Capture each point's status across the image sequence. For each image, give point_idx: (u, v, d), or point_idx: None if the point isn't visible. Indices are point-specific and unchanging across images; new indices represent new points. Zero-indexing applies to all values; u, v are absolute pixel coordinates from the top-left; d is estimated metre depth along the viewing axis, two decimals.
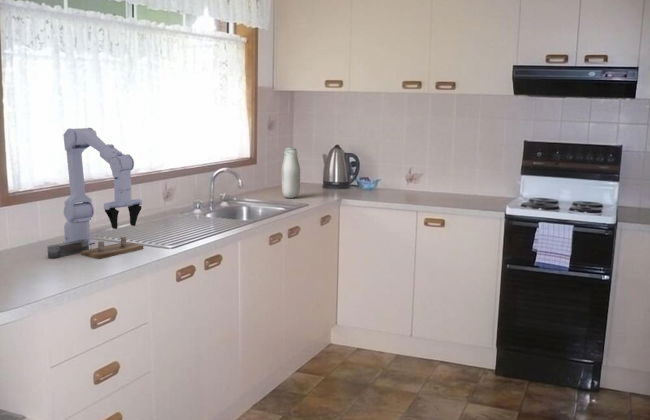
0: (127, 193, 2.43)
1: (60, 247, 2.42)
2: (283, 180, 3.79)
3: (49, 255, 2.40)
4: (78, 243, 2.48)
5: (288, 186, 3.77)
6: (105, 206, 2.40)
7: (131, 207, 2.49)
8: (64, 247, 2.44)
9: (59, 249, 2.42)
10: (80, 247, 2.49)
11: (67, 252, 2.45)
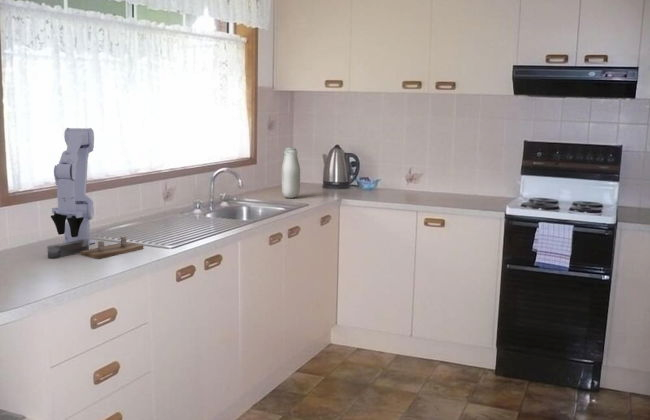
0: (59, 202, 2.42)
1: (60, 247, 2.42)
2: (283, 180, 3.79)
3: (49, 255, 2.40)
4: (78, 243, 2.48)
5: (288, 186, 3.77)
6: None
7: None
8: (64, 247, 2.44)
9: (59, 249, 2.42)
10: (80, 247, 2.49)
11: (67, 252, 2.45)
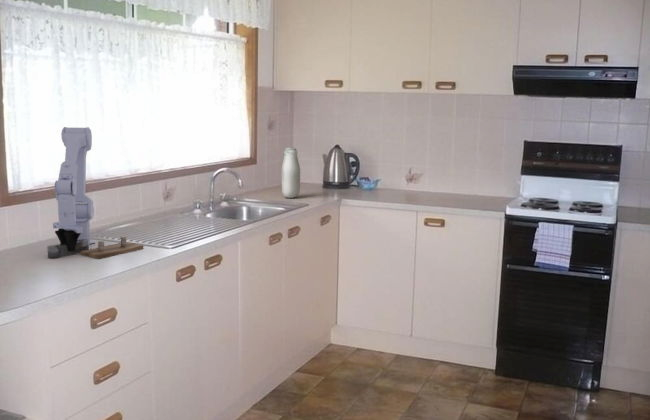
0: (59, 217, 2.43)
1: (60, 247, 2.42)
2: (283, 180, 3.79)
3: (49, 255, 2.40)
4: (78, 243, 2.48)
5: (288, 186, 3.77)
6: None
7: None
8: (64, 247, 2.44)
9: (59, 249, 2.42)
10: (80, 247, 2.49)
11: (67, 252, 2.45)
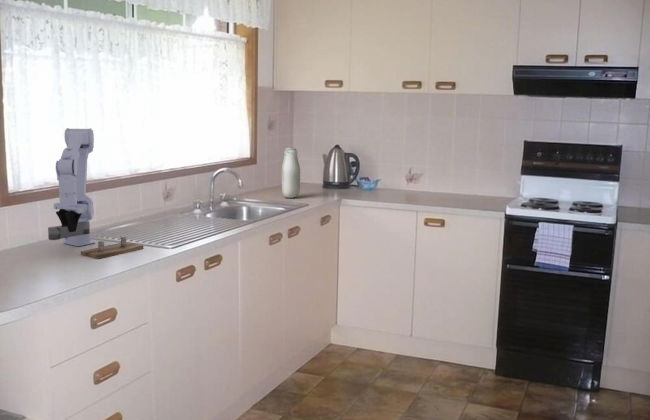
0: (60, 197, 2.42)
1: (61, 228, 2.41)
2: (283, 180, 3.79)
3: (50, 236, 2.39)
4: (79, 225, 2.47)
5: (288, 186, 3.77)
6: None
7: None
8: (64, 228, 2.43)
9: (60, 230, 2.41)
10: (81, 229, 2.48)
11: (68, 234, 2.44)
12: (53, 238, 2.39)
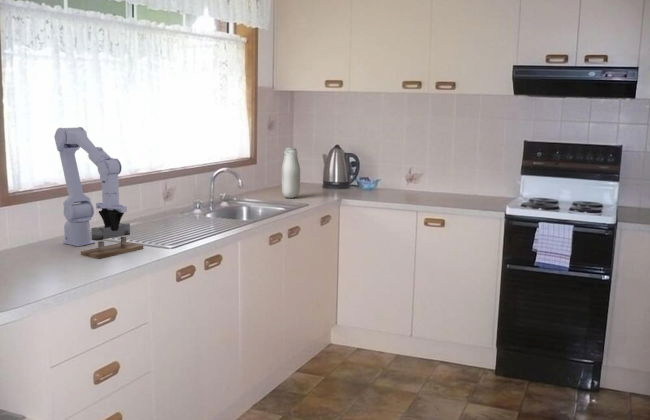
0: (104, 197, 2.46)
1: (104, 229, 2.46)
2: (283, 180, 3.79)
3: (93, 237, 2.44)
4: (120, 226, 2.52)
5: (288, 186, 3.77)
6: None
7: None
8: (107, 229, 2.47)
9: (103, 231, 2.45)
10: (122, 230, 2.53)
11: (110, 235, 2.49)
12: (96, 239, 2.44)
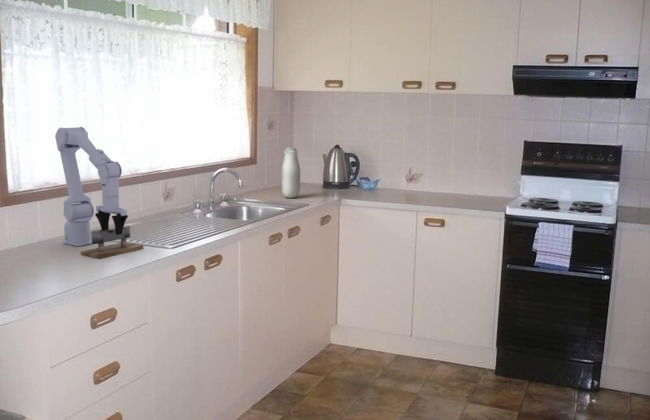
0: (104, 200, 2.46)
1: (104, 232, 2.46)
2: (283, 180, 3.79)
3: (93, 240, 2.44)
4: None
5: (288, 186, 3.77)
6: None
7: None
8: (107, 232, 2.47)
9: (103, 234, 2.46)
10: (122, 233, 2.53)
11: (110, 237, 2.49)
12: (97, 242, 2.44)
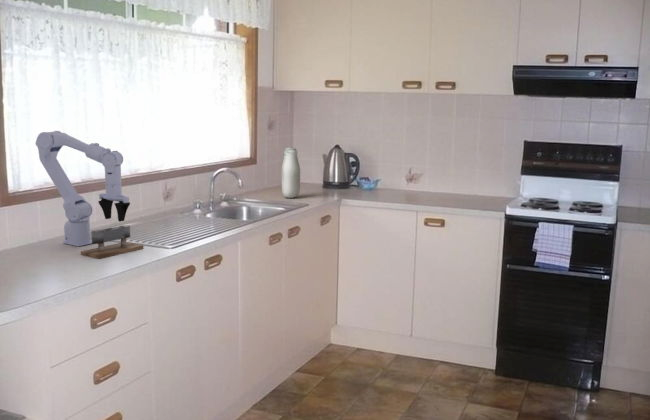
0: (107, 188, 2.56)
1: (104, 232, 2.46)
2: (283, 180, 3.79)
3: (93, 240, 2.44)
4: (120, 229, 2.52)
5: (288, 186, 3.77)
6: None
7: None
8: (107, 232, 2.47)
9: (103, 234, 2.46)
10: (122, 233, 2.53)
11: (110, 237, 2.49)
12: (97, 242, 2.44)
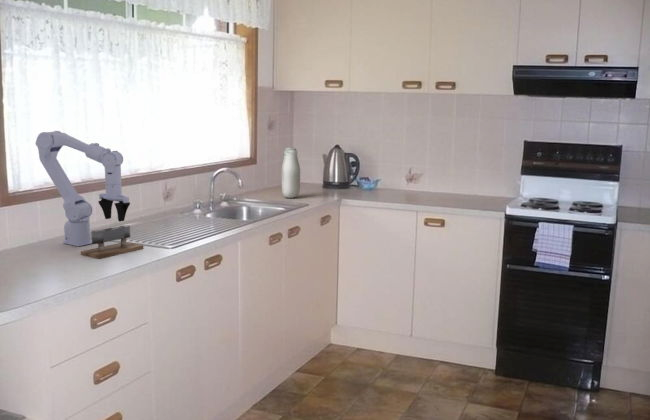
0: (107, 188, 2.56)
1: (104, 232, 2.46)
2: (283, 180, 3.79)
3: (93, 240, 2.44)
4: (120, 229, 2.52)
5: (288, 186, 3.77)
6: None
7: None
8: (107, 232, 2.47)
9: (103, 234, 2.46)
10: (122, 233, 2.53)
11: (110, 237, 2.49)
12: (97, 242, 2.44)
